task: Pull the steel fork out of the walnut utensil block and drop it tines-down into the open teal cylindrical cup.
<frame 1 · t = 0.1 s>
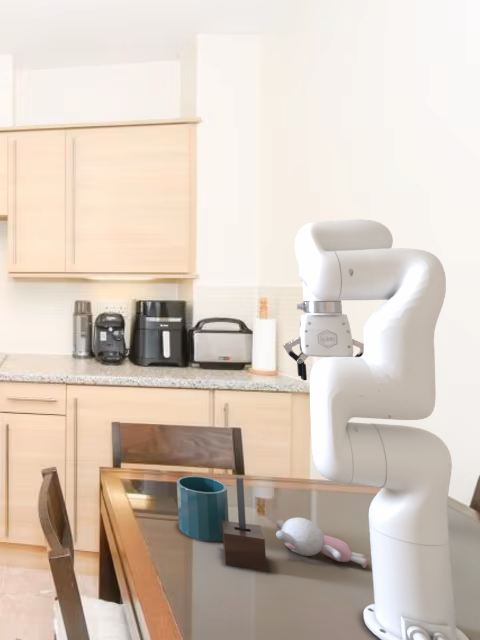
hand: (327, 380, 122), 31 cm above the table, tool pointing down, fingers open, 9 cm apart
toy: (319, 557, 102), on the table
fork: (241, 518, 102), in the utensil block
teal cylindrical cup: (203, 530, 114), on the table
utensil block: (244, 560, 101), on the table
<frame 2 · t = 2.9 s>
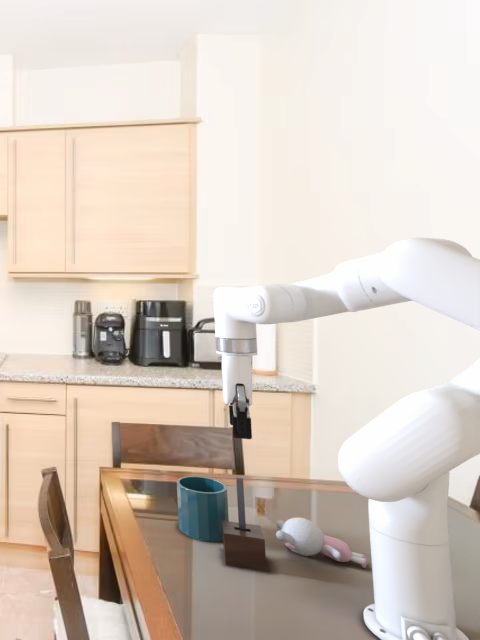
hand: (240, 431, 104), 25 cm above the table, tool pointing down, fingers open, 9 cm apart
nothing on the table moved.
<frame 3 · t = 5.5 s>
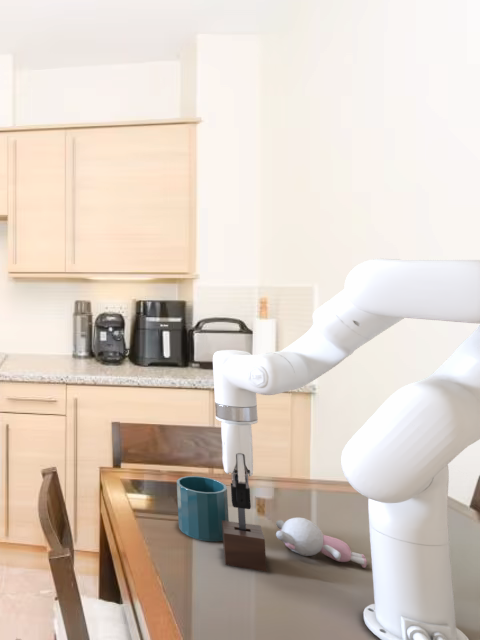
hand: (241, 505, 102), 11 cm above the table, tool pointing down, fingers closed on fork, 1 cm apart
fork: (241, 518, 102), in the utensil block, touching gripper
everything else where it was.
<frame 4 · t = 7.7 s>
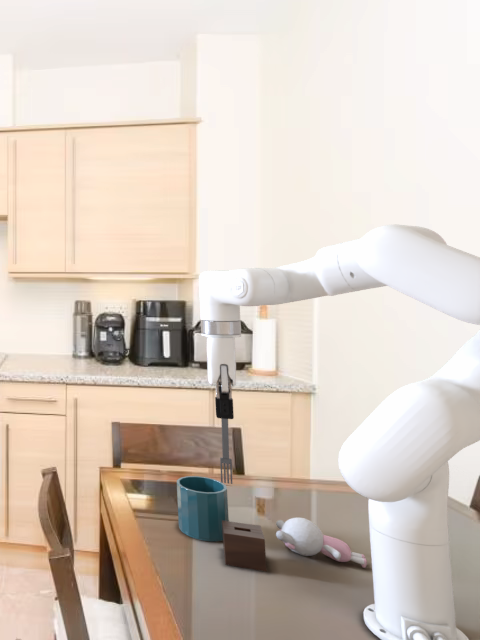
hand: (224, 417, 106), 27 cm above the table, tool pointing down, fingers closed
fork: (225, 443, 106), point 22 cm above the table, touching gripper
everything else where it was.
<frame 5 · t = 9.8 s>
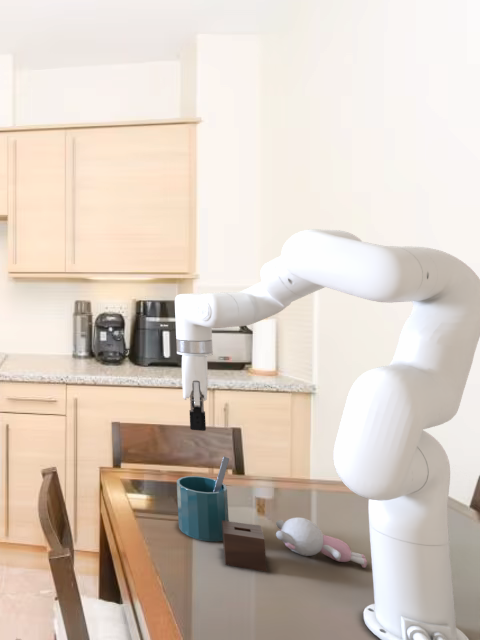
hand: (198, 429, 116), 22 cm above the table, tool pointing down, fingers closed
fork: (216, 492, 114), in the teal cylindrical cup, tilted 21°
everything else where it was.
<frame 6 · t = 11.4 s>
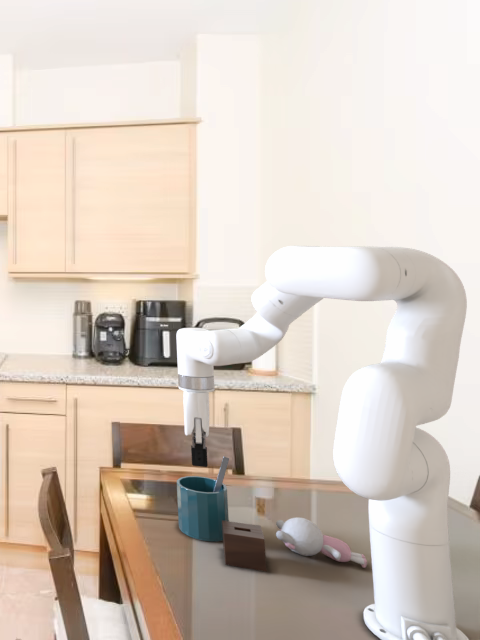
hand: (199, 465, 115), 14 cm above the table, tool pointing down, fingers closed
nothing on the table moved.
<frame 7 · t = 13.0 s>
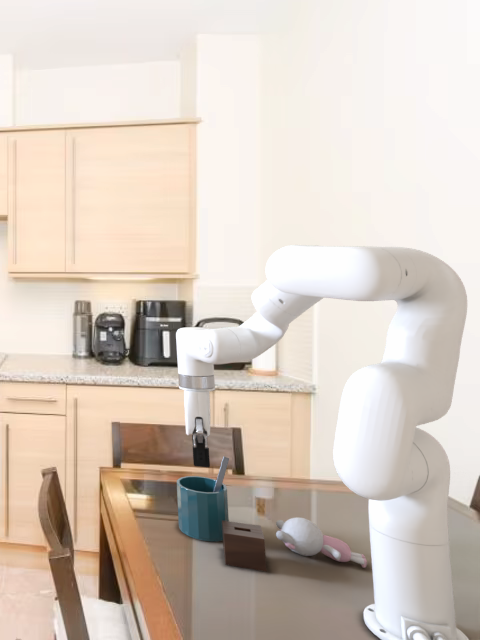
hand: (201, 459, 115), 16 cm above the table, tool pointing down, fingers open, 9 cm apart
nothing on the table moved.
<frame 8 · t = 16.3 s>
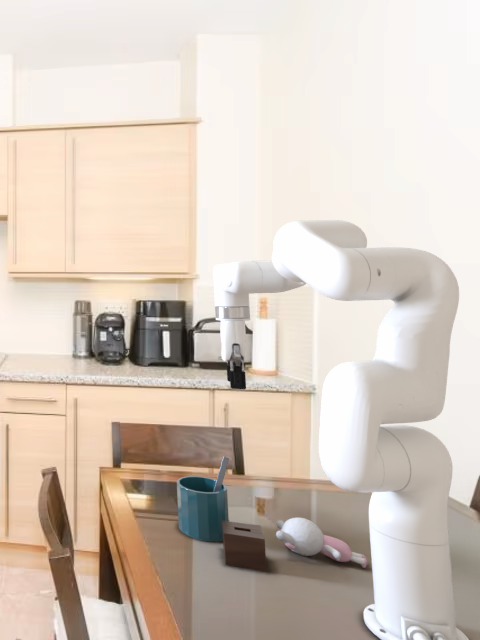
hand: (236, 385, 124), 30 cm above the table, tool pointing down, fingers open, 9 cm apart
nothing on the table moved.
at the end: fork inside the target area in the teal cylindrical cup (0.9 cm from its centre), point 8.3 cm above the teal cylindrical cup's base; the gripper is holding nothing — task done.
